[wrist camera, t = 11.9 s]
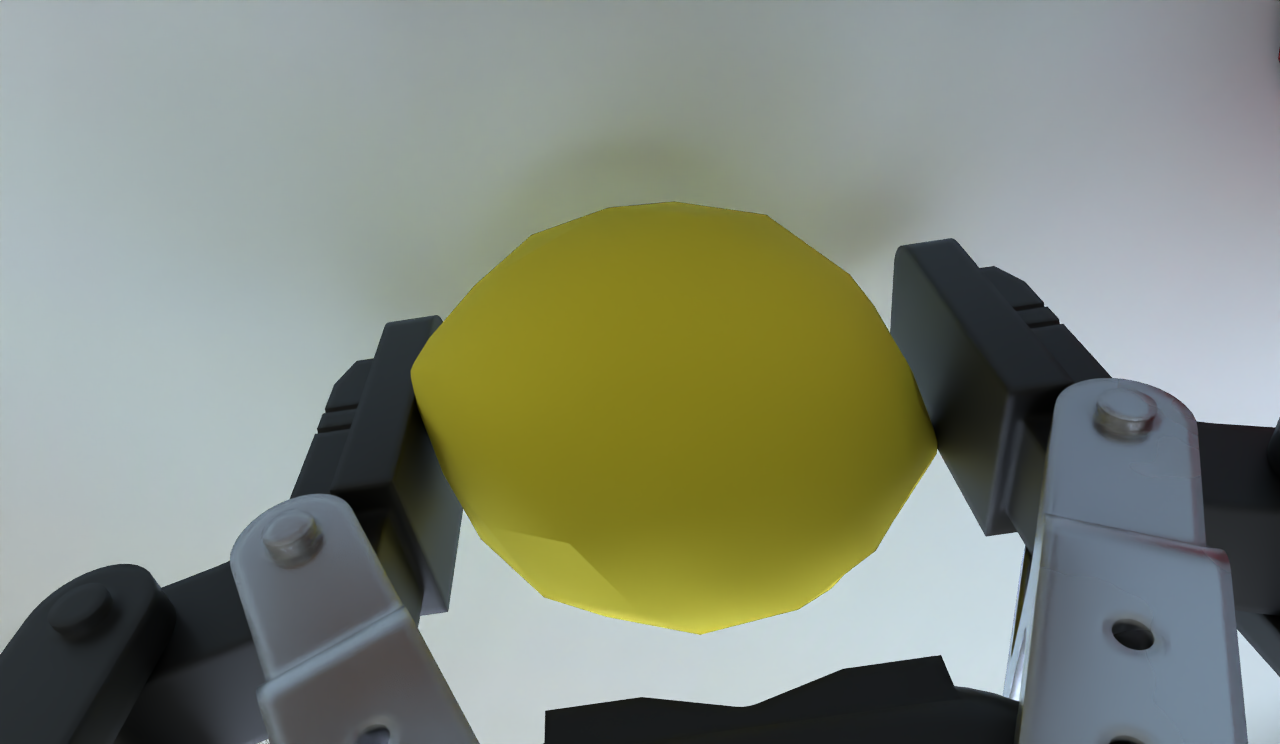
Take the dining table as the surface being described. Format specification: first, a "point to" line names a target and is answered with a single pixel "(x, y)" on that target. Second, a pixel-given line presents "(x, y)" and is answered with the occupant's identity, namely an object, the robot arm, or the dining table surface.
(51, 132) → the dining table surface
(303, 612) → the robot arm
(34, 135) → the dining table surface
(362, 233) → the dining table surface
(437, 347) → the lemon
